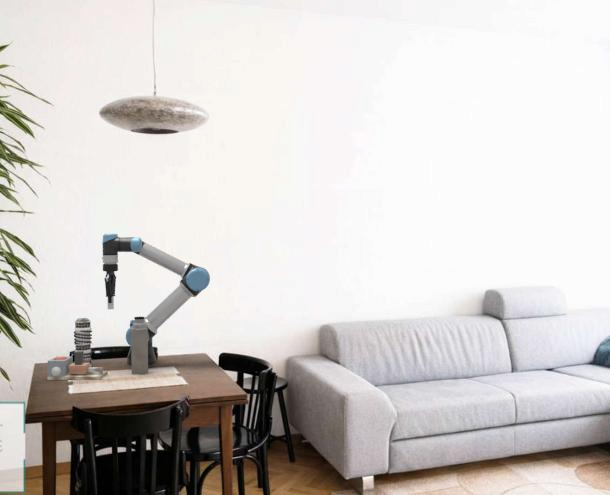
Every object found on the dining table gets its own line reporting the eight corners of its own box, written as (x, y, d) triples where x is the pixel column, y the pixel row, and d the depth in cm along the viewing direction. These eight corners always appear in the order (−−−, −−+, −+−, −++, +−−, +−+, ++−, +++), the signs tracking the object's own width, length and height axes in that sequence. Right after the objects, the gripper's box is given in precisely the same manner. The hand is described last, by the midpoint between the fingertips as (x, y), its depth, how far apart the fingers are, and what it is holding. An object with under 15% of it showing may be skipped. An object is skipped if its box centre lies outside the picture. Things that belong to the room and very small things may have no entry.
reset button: (67, 363, 316) (67, 356, 316) (63, 365, 311) (63, 358, 311) (57, 363, 316) (57, 356, 316) (53, 365, 311) (53, 358, 311)
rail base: (107, 374, 320) (107, 365, 320) (100, 379, 308) (100, 370, 308) (56, 374, 320) (56, 365, 320) (47, 380, 308) (47, 370, 308)
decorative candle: (95, 364, 345) (95, 317, 345) (87, 368, 336) (87, 319, 335) (78, 364, 346) (78, 317, 346) (70, 367, 337) (70, 319, 336)
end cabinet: (72, 374, 319) (72, 356, 319) (64, 379, 308) (64, 361, 308) (56, 374, 319) (56, 356, 319) (47, 380, 308) (47, 361, 308)
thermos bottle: (137, 370, 328) (137, 315, 328) (151, 371, 326) (150, 316, 325) (128, 374, 321) (127, 317, 320) (142, 375, 318) (141, 318, 318)
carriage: (89, 371, 318) (89, 350, 317) (85, 374, 311) (85, 353, 310) (73, 371, 317) (73, 350, 317) (68, 374, 310) (68, 353, 310)
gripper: (106, 263, 342) (107, 307, 342) (99, 264, 329) (99, 310, 329) (121, 263, 342) (121, 307, 342) (114, 264, 329) (114, 310, 329)
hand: (110, 309), depth 336 cm, fingers closed
